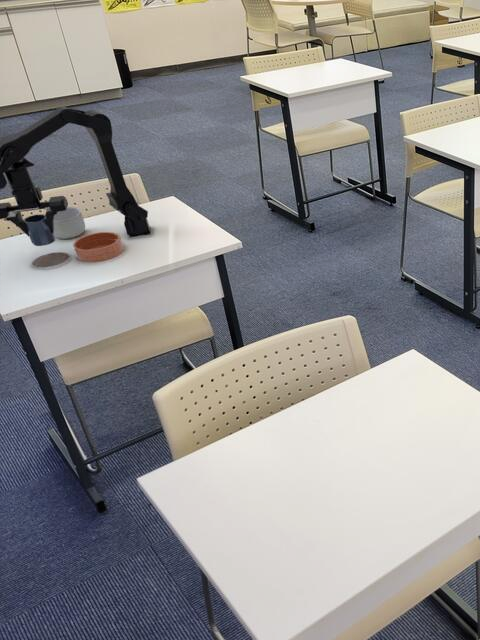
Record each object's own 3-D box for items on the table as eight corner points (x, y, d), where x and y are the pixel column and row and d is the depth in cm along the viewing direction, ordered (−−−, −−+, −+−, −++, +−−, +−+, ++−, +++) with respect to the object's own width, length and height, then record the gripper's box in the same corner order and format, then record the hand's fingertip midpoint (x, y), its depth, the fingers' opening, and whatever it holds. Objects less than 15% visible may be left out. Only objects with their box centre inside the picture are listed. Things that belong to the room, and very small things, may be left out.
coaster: (71, 252, 218) (70, 250, 218) (67, 265, 211) (67, 264, 210) (35, 257, 215) (35, 255, 215) (30, 271, 208) (30, 269, 207)
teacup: (95, 229, 232) (87, 206, 227) (76, 243, 223) (68, 220, 219) (55, 228, 233) (47, 205, 229) (35, 242, 224) (26, 218, 220)
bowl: (125, 242, 224) (121, 229, 221) (123, 259, 214) (118, 246, 211) (80, 248, 220) (75, 235, 218) (75, 266, 210) (70, 253, 207)
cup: (56, 236, 212) (47, 213, 208) (53, 244, 208) (44, 221, 203) (34, 239, 211) (25, 215, 206) (31, 247, 206) (21, 224, 202)
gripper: (60, 170, 208) (78, 219, 217) (-10, 178, 203) (11, 228, 211) (56, 183, 199) (74, 233, 208) (-19, 192, 194) (4, 243, 203)
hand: (41, 234), depth 208 cm, fingers closed on cup, 6 cm apart
